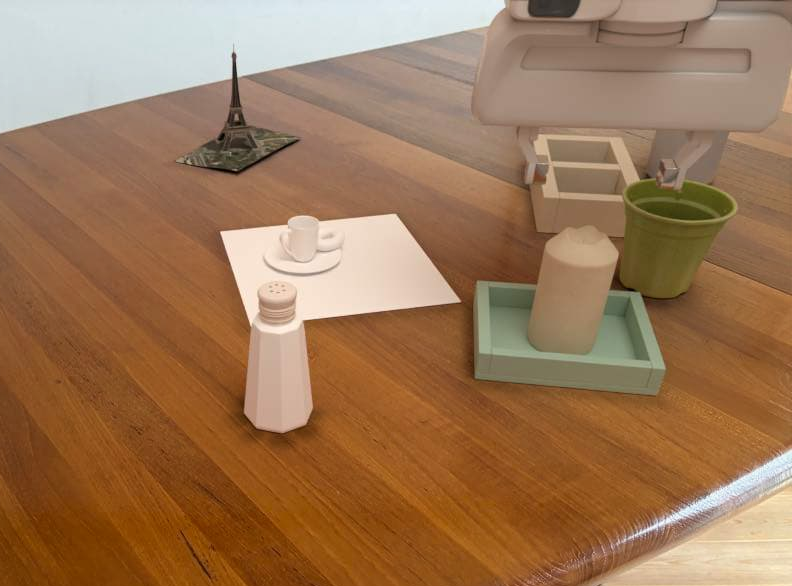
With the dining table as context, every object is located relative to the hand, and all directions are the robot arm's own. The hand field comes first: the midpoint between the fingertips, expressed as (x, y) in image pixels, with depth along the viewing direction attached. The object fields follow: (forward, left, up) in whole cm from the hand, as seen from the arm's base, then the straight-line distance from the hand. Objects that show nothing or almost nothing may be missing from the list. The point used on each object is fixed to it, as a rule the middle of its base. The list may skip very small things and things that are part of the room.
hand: (599, 184), depth 61 cm
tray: (0, 0, -15) cm, 15 cm away
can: (-17, -39, -15) cm, 45 cm away
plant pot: (-10, -13, -15) cm, 22 cm away
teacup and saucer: (+21, -12, -15) cm, 28 cm away
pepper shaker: (+22, +13, -15) cm, 30 cm away
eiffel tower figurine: (+37, -42, -15) cm, 58 cm away
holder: (-5, -32, -15) cm, 35 cm away
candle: (0, 0, -14) cm, 14 cm away
